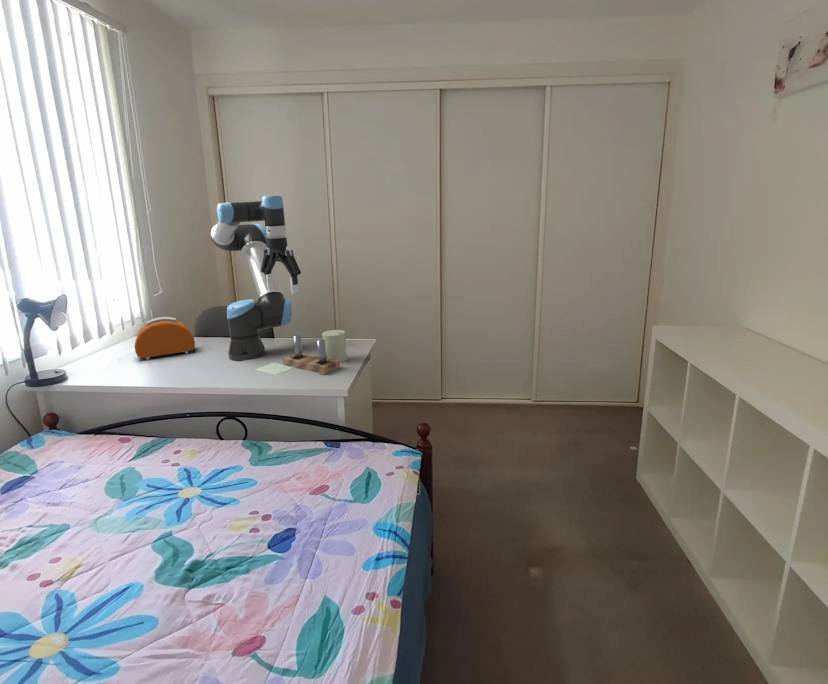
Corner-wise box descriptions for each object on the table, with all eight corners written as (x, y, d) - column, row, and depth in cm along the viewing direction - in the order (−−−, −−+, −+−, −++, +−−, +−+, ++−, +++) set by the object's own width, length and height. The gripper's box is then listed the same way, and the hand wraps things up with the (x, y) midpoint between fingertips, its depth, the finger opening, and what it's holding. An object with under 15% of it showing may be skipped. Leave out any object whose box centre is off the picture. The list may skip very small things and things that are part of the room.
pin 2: (318, 370, 200) (315, 340, 197) (323, 367, 203) (320, 338, 199) (323, 371, 199) (320, 341, 195) (329, 369, 201) (326, 339, 198)
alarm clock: (195, 347, 237) (189, 312, 232) (196, 352, 229) (190, 316, 224) (138, 356, 228) (130, 319, 223) (137, 362, 220) (129, 323, 215)
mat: (254, 370, 203) (254, 369, 203) (274, 363, 211) (274, 362, 211) (275, 375, 196) (275, 374, 196) (295, 367, 204) (294, 367, 204)
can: (342, 363, 207) (340, 334, 203) (321, 363, 209) (318, 334, 205) (350, 356, 215) (348, 328, 212) (329, 356, 217) (326, 328, 214)
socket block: (283, 366, 207) (282, 358, 206) (300, 359, 214) (299, 352, 213) (324, 374, 195) (323, 367, 194) (340, 367, 202) (339, 360, 201)
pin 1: (294, 364, 208) (291, 336, 204) (299, 362, 210) (297, 334, 207) (299, 366, 206) (296, 337, 203) (305, 363, 209) (302, 335, 205)
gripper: (247, 237, 203) (254, 290, 209) (292, 238, 190) (298, 295, 196) (262, 235, 209) (268, 287, 215) (306, 236, 196) (312, 292, 202)
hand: (282, 291), depth 206 cm, fingers open, 13 cm apart
